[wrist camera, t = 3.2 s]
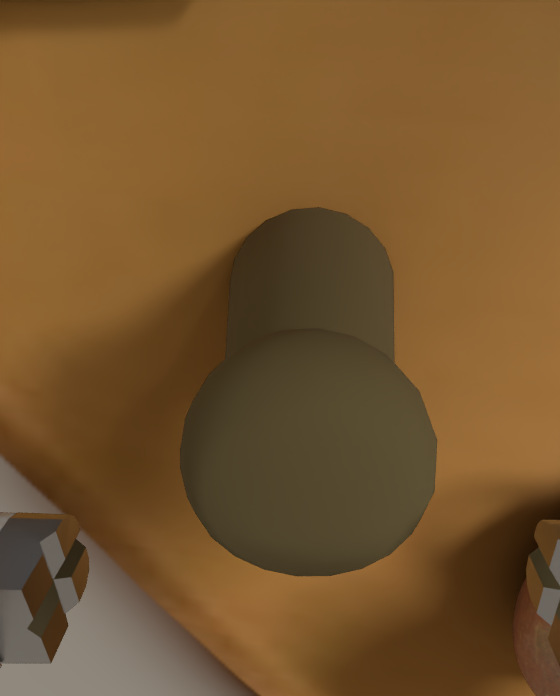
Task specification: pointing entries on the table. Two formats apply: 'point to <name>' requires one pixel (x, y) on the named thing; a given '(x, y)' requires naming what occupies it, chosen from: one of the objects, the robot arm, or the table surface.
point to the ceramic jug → (534, 647)
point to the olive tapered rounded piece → (309, 406)
